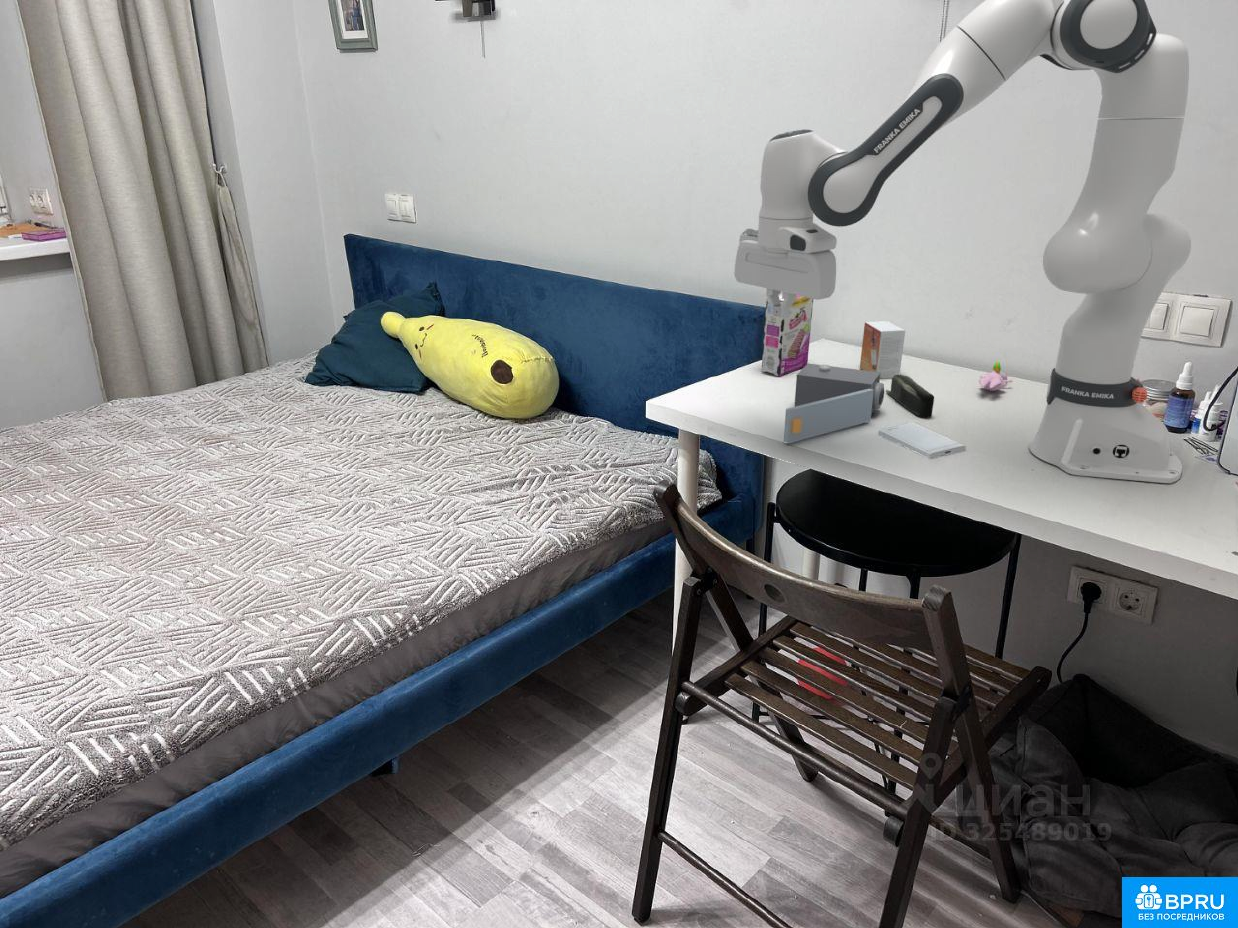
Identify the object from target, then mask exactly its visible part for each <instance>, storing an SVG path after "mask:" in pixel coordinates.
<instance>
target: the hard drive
mask: <svg viewBox="0 0 1238 928" xmlns="http://www.w3.org/2000/svg"><path fill="white" fill-rule="evenodd" d="M878 436H880V437H881V436H882V438H883V439H886V440H888V441H890V442H893V443H894V442H895V443H894V444H896V443H899V444H901V445H902V446H901V445H900V446H901V447H903V446H905V447H907V448H909V449H911V450H913V451H916V452H918V453H920V454H922V455H924V456H926V457H928V458H932V459H934V457H936V458H939V457H938V456H940V457H942V456H941V455H944V456H948V455H952V454H955V453H959V452H963V451H966V448H967V446H966V445H965V444H962V443H960V442H958V441H955V440H954V439H951V438H950V437H949V438H948V437H946V436H944V435H943V434H942V435H941V434H939V433H938V432H935V431H933V430H930V429H928V428H926V427H923V426H921V425H920V424H917V423H914V422H909V423H904V424H899V425H895V426H891V427H887V428H882V429H880V430H879V431H878ZM905 447H904V448H905ZM907 448H906V449H907ZM909 449H908V450H909ZM911 450H910V451H911ZM913 451H912V452H913ZM916 452H915V453H916ZM918 453H917V454H918ZM951 453H952V454H951ZM920 454H919V455H920ZM947 454H948V455H947ZM922 455H921V456H922ZM924 456H923V457H924ZM926 457H925V458H926ZM928 458H927V459H928Z"/></svg>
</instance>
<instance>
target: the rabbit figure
mask: <svg viewBox="0 0 1238 928" xmlns="http://www.w3.org/2000/svg"><path fill="white" fill-rule="evenodd" d="M992 370H993V371H991V372H989V373H986V374H985V375H980V376H979V377H980V378H979V379H978V382H979V384H980V386H981V387H982V388H984V389H986V390H987V391H989V390H990V391H989V392H991V391H992V392H996V391H1000V390H1002V389H1004V388H1006V387H1007V383H1013V379H1008V375H1007V374H1008V372H1006V373H1004V372H1002V371H1001V370H1002V367H1001V362H1000V361H996V362H995V364H994V365H993V367H992Z"/></svg>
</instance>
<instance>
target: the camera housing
mask: <svg viewBox="0 0 1238 928" xmlns="http://www.w3.org/2000/svg"><path fill="white" fill-rule="evenodd" d="M880 373H881V372H873V371H865V370H862V369H857V368H848V367H847V368H846V367H839V366H832V365H829V364H815V363H809V362H808V363H807V365H806V366H805V367H803V368H801V370H800V371H799V372H798V373H796V381H795V395H794V406H793V407H796V406H800V405H804V404H808V403H812V402H816V401H820V400H824V399H829V398H833V397H837V396H841V395H845V394H849V393H853V392H857V391H861V390H865V389H873V390H874V393H873V402H872V411H871V416H872V415H873V413H874V412H875V410H876V411H877V410H878V411H879V410H880V409H881V406H882V405H883V402H884V399H885V398H884V397H885V387H884V385H885V384H884V383H883V382H880V381H881V379H880Z"/></svg>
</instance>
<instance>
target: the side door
mask: <svg viewBox="0 0 1238 928" xmlns="http://www.w3.org/2000/svg"><path fill="white" fill-rule="evenodd" d="M873 393H874V390H873V389H865V390H861V391H857V392H853V393H849V394H845V395H841V396H837V397H833V398H829V399H824V400H820V401H816V402H812V403H808V404H804V405H800V406H796V407H794V406H792V407H789V408H785V417H784V418H785V419H784V431H783V434H784V435H783V442H784V443H786V444H789V443H793V442H797V441H800V440H804V439H808V438H811V437H815V436H819V435H823V434H826V433H830V432H831V433H832V432H834V431H839V430H841V429H846V428H849V427H853V426H857V425H861V424H865V423H867V422H871V419H872V415H871V411H872V402H873Z"/></svg>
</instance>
